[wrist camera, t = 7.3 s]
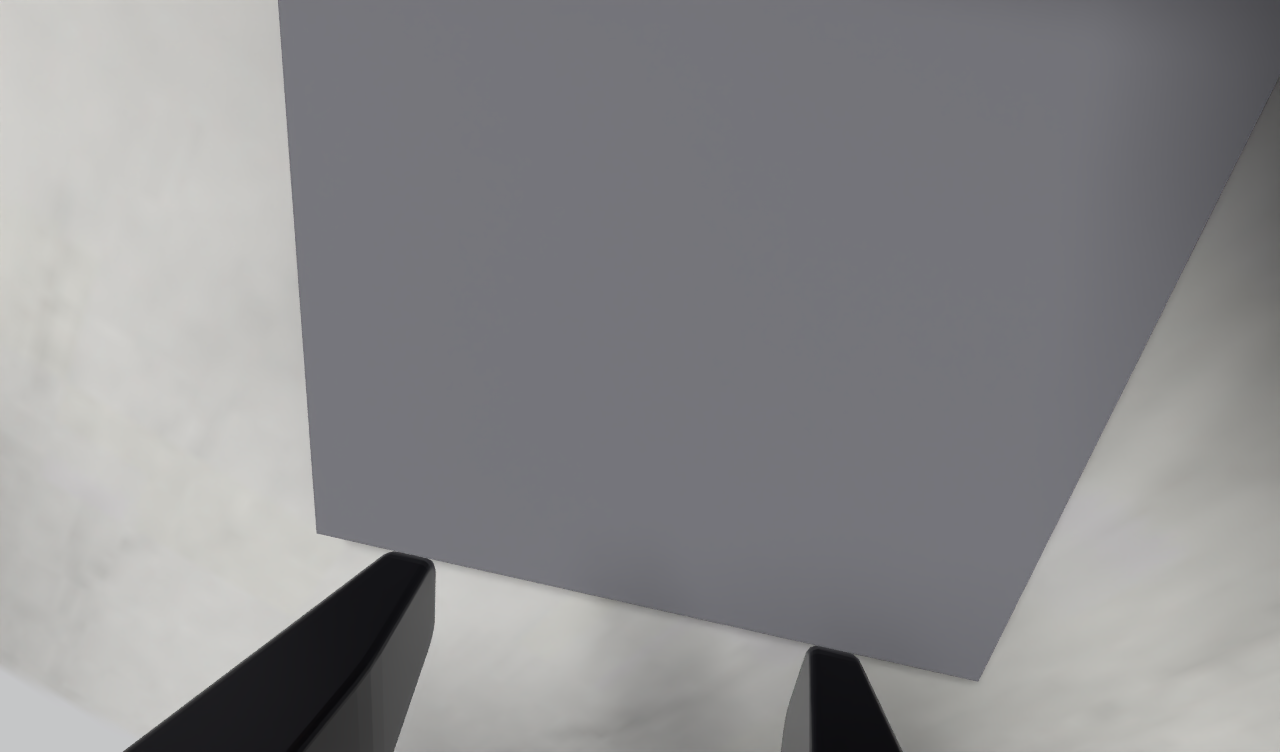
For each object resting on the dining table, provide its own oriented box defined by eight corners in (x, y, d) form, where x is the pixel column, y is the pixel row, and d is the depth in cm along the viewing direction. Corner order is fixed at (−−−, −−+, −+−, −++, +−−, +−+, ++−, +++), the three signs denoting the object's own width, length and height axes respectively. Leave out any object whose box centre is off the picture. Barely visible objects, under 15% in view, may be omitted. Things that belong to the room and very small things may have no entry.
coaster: (1314, -51, 11) (1337, -39, 10) (974, 652, 17) (978, 681, 16) (287, -228, 11) (261, -223, 11) (332, 509, 18) (316, 533, 17)
